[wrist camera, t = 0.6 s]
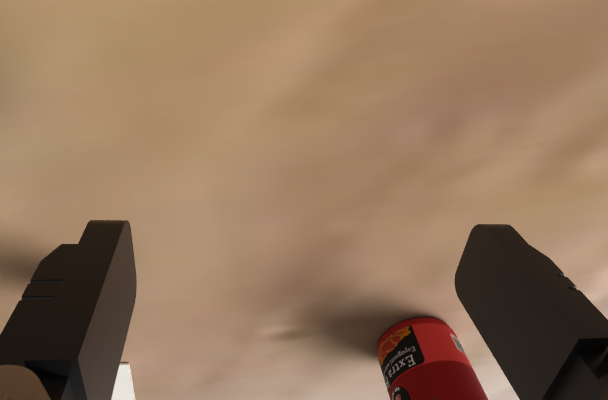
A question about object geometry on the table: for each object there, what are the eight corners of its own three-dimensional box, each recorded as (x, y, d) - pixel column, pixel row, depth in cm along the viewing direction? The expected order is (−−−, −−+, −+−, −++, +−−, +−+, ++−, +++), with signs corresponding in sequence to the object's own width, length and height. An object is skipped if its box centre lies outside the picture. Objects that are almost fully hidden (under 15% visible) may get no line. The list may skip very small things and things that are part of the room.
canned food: (392, 311, 40) (438, 434, 32) (467, 318, 43) (530, 434, 34) (362, 362, 44) (396, 482, 36) (432, 365, 47) (480, 480, 38)
